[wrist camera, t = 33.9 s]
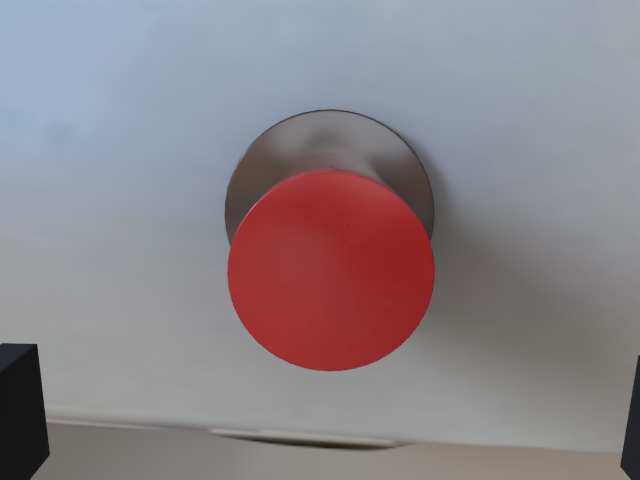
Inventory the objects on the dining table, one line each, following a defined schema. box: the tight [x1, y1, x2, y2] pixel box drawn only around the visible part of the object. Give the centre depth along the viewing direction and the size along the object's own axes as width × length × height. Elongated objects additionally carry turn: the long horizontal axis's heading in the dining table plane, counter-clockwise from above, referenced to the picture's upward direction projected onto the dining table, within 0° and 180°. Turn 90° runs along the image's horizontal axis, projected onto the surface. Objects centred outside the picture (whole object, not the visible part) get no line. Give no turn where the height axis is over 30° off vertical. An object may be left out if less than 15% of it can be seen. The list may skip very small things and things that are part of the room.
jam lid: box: [227, 166, 434, 371], centre depth 22 cm, size 8×8×2 cm
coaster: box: [225, 110, 434, 246], centre depth 33 cm, size 13×13×1 cm
